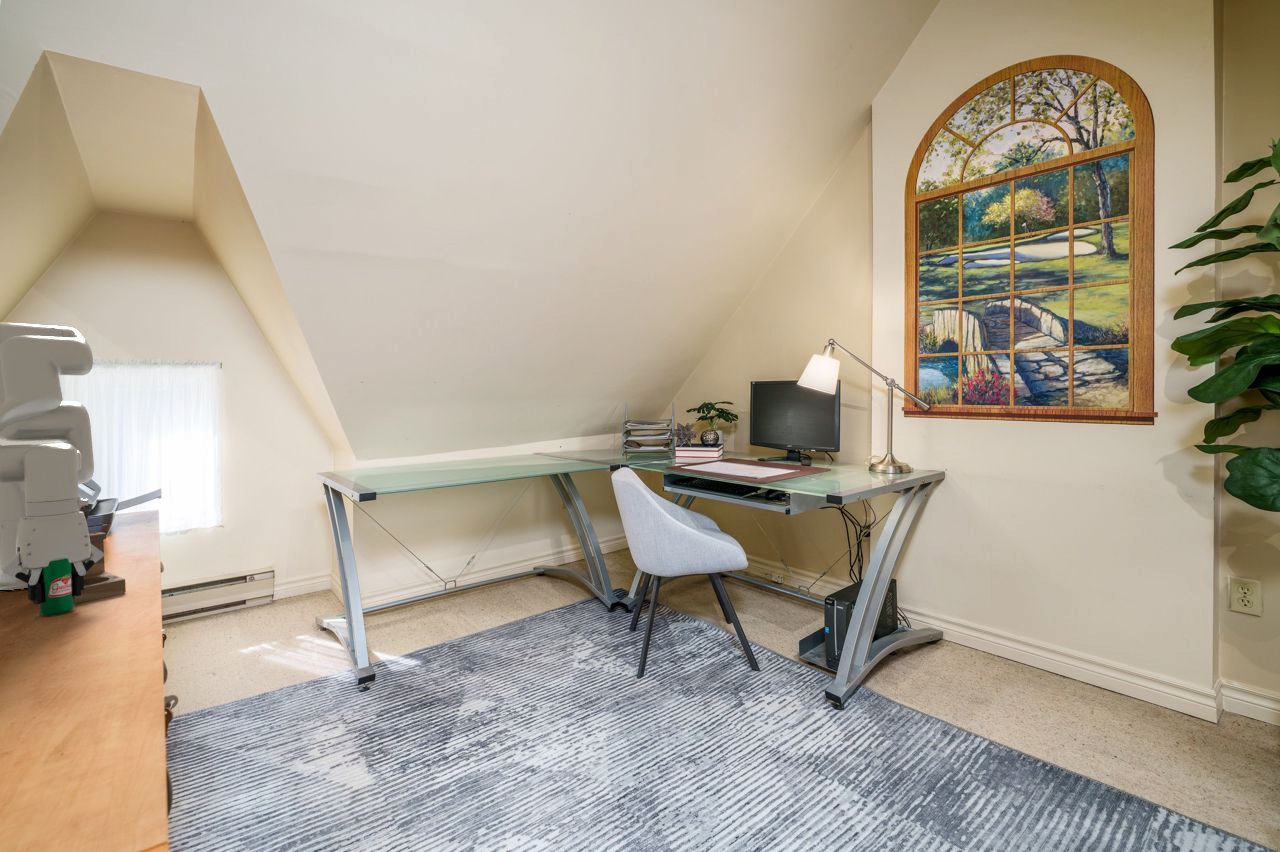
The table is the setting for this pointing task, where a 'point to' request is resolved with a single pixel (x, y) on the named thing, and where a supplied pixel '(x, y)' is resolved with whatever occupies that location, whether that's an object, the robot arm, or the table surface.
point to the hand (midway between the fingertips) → (57, 598)
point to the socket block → (99, 576)
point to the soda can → (57, 588)
